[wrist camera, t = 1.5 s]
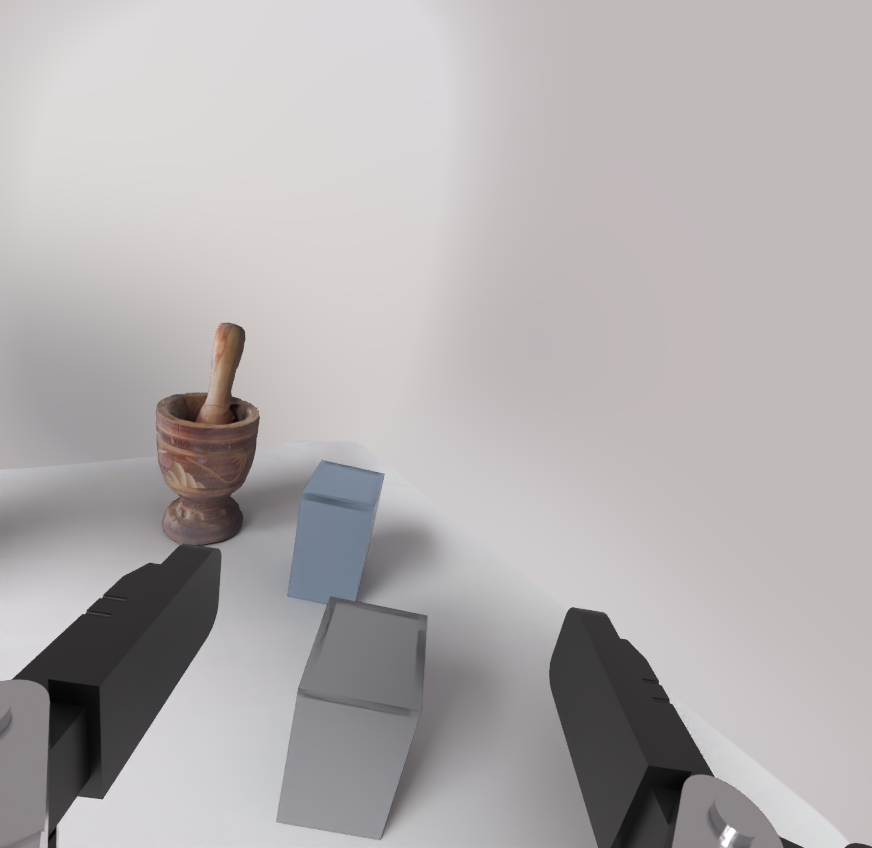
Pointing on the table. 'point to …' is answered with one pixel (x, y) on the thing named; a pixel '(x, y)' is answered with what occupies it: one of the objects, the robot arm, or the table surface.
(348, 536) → the light blue box
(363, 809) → the cover
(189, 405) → the mortar and pestle
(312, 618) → the table surface
